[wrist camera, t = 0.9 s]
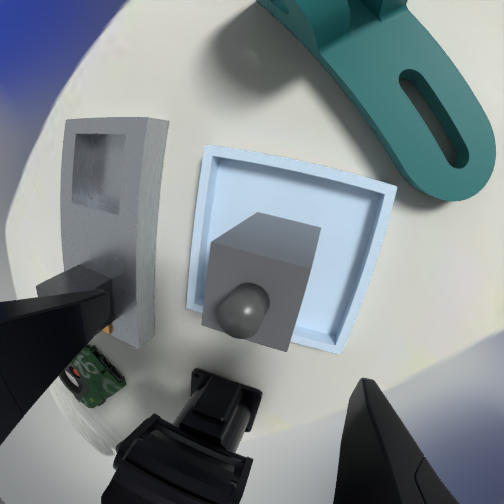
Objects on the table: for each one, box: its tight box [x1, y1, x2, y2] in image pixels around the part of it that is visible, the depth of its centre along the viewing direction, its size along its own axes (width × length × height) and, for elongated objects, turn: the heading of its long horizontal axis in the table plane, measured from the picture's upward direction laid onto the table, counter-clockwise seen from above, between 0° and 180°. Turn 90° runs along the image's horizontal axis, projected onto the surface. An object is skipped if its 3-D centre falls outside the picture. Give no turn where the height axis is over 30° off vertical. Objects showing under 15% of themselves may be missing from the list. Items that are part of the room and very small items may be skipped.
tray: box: [186, 145, 397, 355], centre depth 18 cm, size 11×11×2 cm
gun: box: [59, 345, 126, 408], centre depth 31 cm, size 16×2×10 cm
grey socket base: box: [36, 117, 169, 349], centre depth 18 cm, size 18×9×9 cm, turn 169°
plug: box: [201, 212, 321, 352], centre depth 14 cm, size 4×4×9 cm
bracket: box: [256, 0, 496, 201], centre depth 10 cm, size 18×7×8 cm, turn 36°
